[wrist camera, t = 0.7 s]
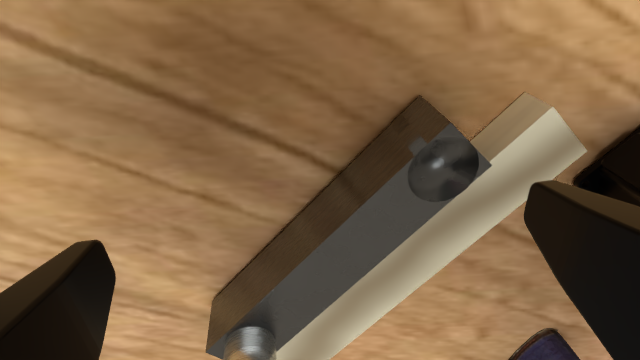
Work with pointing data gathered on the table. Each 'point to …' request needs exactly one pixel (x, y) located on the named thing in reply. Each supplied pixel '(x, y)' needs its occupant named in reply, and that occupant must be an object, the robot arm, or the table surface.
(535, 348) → the flask
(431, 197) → the stool leg
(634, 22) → the table surface
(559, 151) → the rail
